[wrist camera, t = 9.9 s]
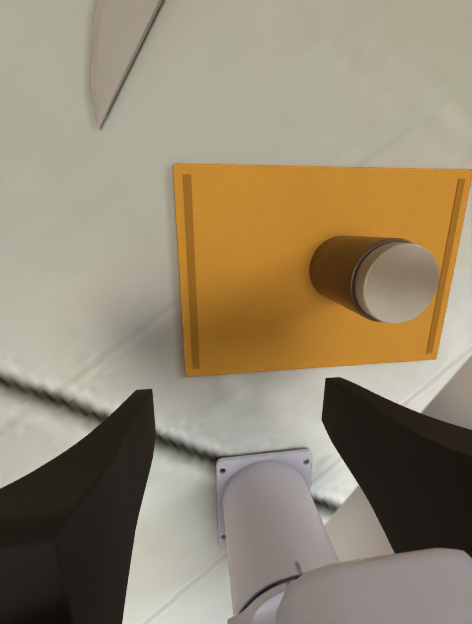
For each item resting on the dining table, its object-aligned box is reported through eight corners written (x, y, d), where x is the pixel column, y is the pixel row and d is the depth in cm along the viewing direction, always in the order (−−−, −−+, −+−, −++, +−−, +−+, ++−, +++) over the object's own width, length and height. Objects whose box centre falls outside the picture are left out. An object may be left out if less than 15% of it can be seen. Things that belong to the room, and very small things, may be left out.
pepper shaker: (365, 297, 21) (435, 325, 15) (307, 300, 21) (354, 330, 15) (372, 235, 20) (451, 237, 14) (311, 235, 20) (364, 239, 13)
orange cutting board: (432, 357, 24) (437, 359, 24) (185, 374, 22) (185, 377, 21) (468, 170, 20) (474, 169, 20) (173, 164, 18) (172, 163, 17)
